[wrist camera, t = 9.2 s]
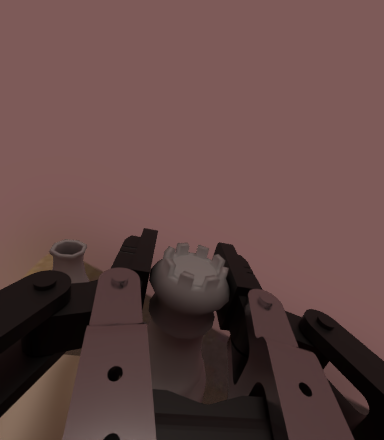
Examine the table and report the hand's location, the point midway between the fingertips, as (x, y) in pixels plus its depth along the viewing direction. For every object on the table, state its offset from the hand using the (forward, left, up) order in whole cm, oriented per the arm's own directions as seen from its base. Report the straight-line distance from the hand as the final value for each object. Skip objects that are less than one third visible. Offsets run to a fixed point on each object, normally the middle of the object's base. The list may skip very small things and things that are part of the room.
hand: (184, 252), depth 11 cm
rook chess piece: (0, +3, -7) cm, 7 cm away
